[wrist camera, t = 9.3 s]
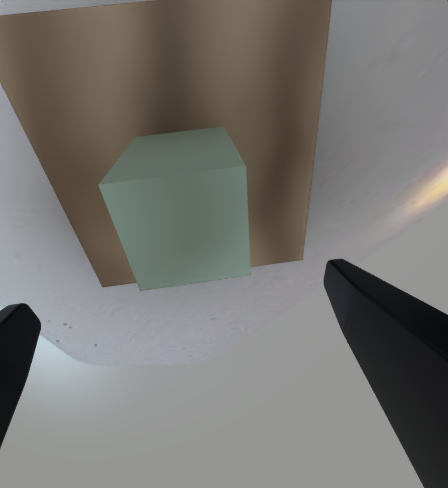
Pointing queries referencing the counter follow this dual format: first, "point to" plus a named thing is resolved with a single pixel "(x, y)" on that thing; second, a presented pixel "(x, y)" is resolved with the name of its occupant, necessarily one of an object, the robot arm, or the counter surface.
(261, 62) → the walnut base
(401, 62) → the counter surface
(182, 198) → the sage block
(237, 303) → the counter surface
